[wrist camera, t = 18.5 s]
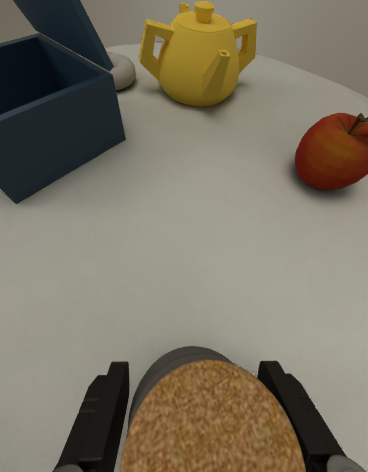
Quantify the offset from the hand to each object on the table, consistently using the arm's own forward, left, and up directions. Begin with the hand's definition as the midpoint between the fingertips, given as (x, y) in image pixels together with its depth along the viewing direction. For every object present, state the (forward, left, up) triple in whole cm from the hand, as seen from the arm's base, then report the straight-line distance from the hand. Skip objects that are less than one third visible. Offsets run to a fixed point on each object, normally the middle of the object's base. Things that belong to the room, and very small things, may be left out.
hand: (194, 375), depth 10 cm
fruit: (+32, -5, -11) cm, 34 cm away
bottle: (-1, -1, -11) cm, 11 cm away
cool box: (+15, +33, -10) cm, 38 cm away
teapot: (+43, +22, -11) cm, 49 cm away
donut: (+35, +37, -11) cm, 52 cm away
